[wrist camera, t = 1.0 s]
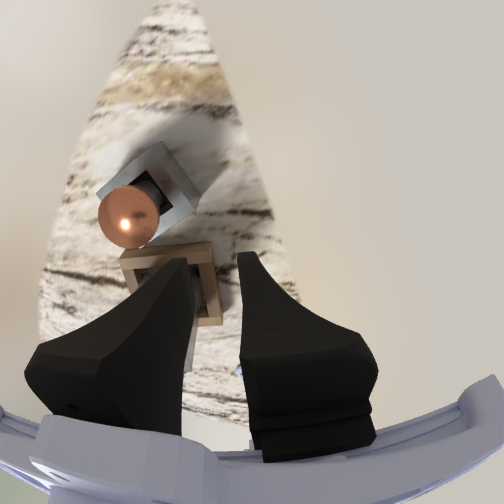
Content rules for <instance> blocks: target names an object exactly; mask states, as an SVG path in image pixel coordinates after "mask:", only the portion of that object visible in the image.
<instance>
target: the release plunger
mask: <svg viewBox="0 0 504 504" xmlns="http://www.w3.org/2000/svg"><path fill="white" fill-rule="evenodd" d="M161 204H162V196H161V193H160V191H159V189H158V188H157V187H156V186H155V185H153V184H151V183H149V182H139V183H137V184H135V185H134V186H133V185H124V186H120V187H117V188H115V189H114V190H112V191H111V192H110V193H108V194H107V195H106V196H105V197H104V198H103V200H102V202H101V204H100V206H99V211H98V219H99V224H100V227H101V229H102V231H103V233H104V234H105V236H106V237H107V238H108V239H109V240H110V241H111V242H113V243H114V244H116V245H118V246H120V247H123V248H128V249H135V248H139V247H142V246H144V245H146V244H147V243H148V242H149V241H150V240H151V239H152V238H153V236H154V234H155V233H156V231H157V229H158V226H159V221H160V215H159V209H160V207H161Z"/></svg>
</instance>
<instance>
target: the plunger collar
mask: <svg viewBox="0 0 504 504" xmlns="http://www.w3.org/2000/svg"><path fill="white" fill-rule="evenodd" d="M146 170H147V171H148V172H149V174H150V175H151V176H152V178H153V179H154V181H155V182H156V183H157V185H158V186H159V187H160V189H161V190H162V191H163V193H164V194H165V195H166V197H167V198H168V199H169V201H170V202H169V203H167V204H166V205H165V206H163V207H162V208H160V209H159V215H160V221H159V226H158V229H157V231H156V233H155V234H154V236H153V238H152V239H151V240H153V239H154V238H156V237H157V236H159V235H160V234H162V233H163V232H165V231H166V230H167V229H169V228H170V227H172V226H173V225H175V224H176V223H178V222H179V221H181V220H182V219H184V218H185V217H187V216H188V215H190V214H192V213H193V212H195V211H196V209H197V206H198V204H199V201H200V199H201V195H200V194H199V192H198V191H197V190H196V188H195V187H194V185H193V184H192V183H191V181H190V180H189V179H188V177H187V176H186V174H185V173H184V172H183V170H182V169H181V167H180V166H179V165H178V163H177V162H176V160H175V159H174V158H173V156H172V155H171V153H170V152H169V151H168V149H167V148H166V146H165V145H164V144H163V142H160V143H158V144H156V145H154V146H152V147H150V148H148V149H147V150H146V151H144V152H143V153H142V154H141V155H139V156H138V157H137V158H136V159H134V160H133V161H132V162H131V163H130V164H128V165H127V166H126V167H125V168H124V169H122V170H121V171H120V172H119V173H118V174H117V175H115V176H114V177H113V178H112V179H111V180H110V181H109V182H108V183H106V184H105V185H104V186H103V187H102V188H101V189H100V190H99V191H98V192H97V193H96V195H97V196H98V197H99V199H100V200H101V201H102V200H103V198H104V197H105V196H106V195H107V194H108V193H110V192H111V191H112V190H114V189H115V188H117V187H120V186H124V185H130V184H129V183H131V182H132V181H133V180H134V179H136V178H137V177H138V176H139V175H141V174H142V173H143V172H144V171H146ZM151 240H150V241H151ZM150 241H149V242H150ZM149 242H148V243H149ZM142 247H143V246H142ZM140 248H141V247H139V249H140Z"/></svg>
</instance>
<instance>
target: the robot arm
mask: <svg viewBox="0 0 504 504" xmlns="http://www.w3.org/2000/svg"><path fill="white" fill-rule="evenodd" d="M237 263H238V271H239V279H240V287H241V295H242V303H243V313H242V334H241V345H240V355H239V359H240V364H241V366H240V367H237V368H236V369H235V373H236V374H237V375H238V376H240V377H241V378H242V379H243V381H244V386H245V392H246V397H247V403H248V408H249V428H250V432H251V435H252V440H249V445H250V446H249V447H250V449H245V450H243V451H231V452H230V451H228V452H212V451H211V450H209V449H208V448H207V447H205V446H204V445H203V444H201V443H198V442H196V441H193V440H190V439H187V438H184V437H182V435H181V434H182V432H181V411H182V387H183V373H184V366H185V360H186V355H187V350H188V346H189V341H190V336H191V331H192V327H193V322H194V314H195V300H196V298H195V293H194V289H193V285H192V281H191V276H190V272H189V267H188V263H187V258H186V257H184V258H173V259H171V260H169V261H168V262H167V263H166V264H165V265H164V266H163V267H162V268H160V269H159V270H158V271H157V272H156V273H155V274H154V275H153V276H152V277H151V278H150V279H149V280H148V281H147V282H145V283H144V284H143V285H142V286H141V287H140V288H139V289H137V290H136V291H135V292H134V293H133V294H132V295H130V296H129V297H128V298H127V299H125V300H124V301H123V302H121V303H120V304H119V305H117V306H116V307H114V308H113V309H112V310H110V311H109V312H107V313H105V314H104V315H102V316H100V317H99V318H97V319H95V320H94V321H92V322H90V323H89V324H87V325H85V326H83V327H81V328H79V329H77V330H75V331H72V332H70V333H68V334H66V335H63V336H61V337H58V338H55V339H53V340H50V341H47V342H44V343H41V344H39V345H38V347H37V349H36V351H35V352H34V354H33V356H32V358H31V359H30V361H29V363H28V365H27V367H26V369H25V371H24V375H25V379H26V381H27V383H28V385H29V387H30V388H31V389H32V391H33V392H34V393H35V394H36V396H37V397H38V398H39V399H40V400H41V401H42V402H43V403H44V404H45V405H46V407H48V409H49V410H50V411H51V412H52V413H53V415H44V417H43V419H42V422H41V424H38V423H35V422H33V421H30V420H27V419H24V418H22V417H19V416H16V415H14V414H11V413H9V412H6V411H4V409H3V408H2V407H1V405H0V468H1V469H3V470H4V471H6V472H8V473H9V474H11V475H13V476H15V477H17V478H18V479H20V480H22V481H24V482H25V483H27V484H29V485H31V486H33V487H35V488H37V489H39V490H41V491H43V492H45V493H47V494H49V495H50V496H49V501H48V504H403V503H405V502H408V501H410V500H412V499H415V498H417V497H419V496H421V495H424V494H426V493H428V492H430V491H432V490H434V489H436V488H439V487H440V486H442V485H444V484H446V483H448V482H450V481H452V480H454V479H456V478H458V477H459V476H461V475H463V474H464V473H466V472H468V471H470V470H471V469H473V468H475V467H476V466H478V465H480V464H481V463H483V462H484V461H486V460H487V459H488V458H490V457H491V456H492V455H493V454H495V453H496V452H497V451H499V450H500V449H501V448H502V447H503V446H504V390H503V388H502V386H501V385H500V383H499V381H498V380H497V378H496V376H495V375H490V376H488V377H486V378H484V379H482V380H480V381H478V382H476V383H474V384H472V385H471V386H469V387H468V388H467V389H466V390H465V391H464V392H463V393H462V394H461V396H460V397H459V399H458V401H457V402H455V403H452V404H450V405H448V406H445V407H443V408H441V409H438V410H435V411H433V412H430V413H428V414H425V415H423V416H420V417H417V418H414V419H411V420H408V421H405V422H403V423H399V424H396V425H393V426H390V427H386V428H383V429H379V430H375V429H374V425H373V422H372V419H371V416H370V414H371V412H372V407H371V404H370V402H369V397H370V394H371V392H372V390H373V387H374V385H375V382H376V380H377V376H378V367H377V363H376V361H375V359H374V357H373V354H372V352H371V351H370V349H369V347H368V346H367V344H366V343H365V341H364V340H363V338H362V337H361V335H360V334H359V333H357V332H354V331H352V330H349V329H346V328H344V327H341V326H339V325H336V324H334V323H332V322H330V321H328V320H326V319H324V318H322V317H320V316H318V315H316V314H315V313H313V312H311V311H310V310H308V309H307V308H305V307H304V306H302V305H301V304H299V303H298V302H297V301H295V300H294V299H293V298H292V297H291V296H289V295H288V294H287V293H286V292H285V291H284V290H283V289H282V288H281V287H280V286H279V285H278V284H277V283H276V282H275V280H274V279H273V278H272V277H271V276H270V274H269V273H268V272H267V271H266V269H265V268H264V266H263V265H262V263H261V262H260V260H259V258H258V256H257V254H256V253H255V252H254V251H251V252H240V253H238V256H237Z"/></svg>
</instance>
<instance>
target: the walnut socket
mask: <svg viewBox="0 0 504 504" xmlns="http://www.w3.org/2000/svg"><path fill="white" fill-rule="evenodd" d="M184 257H186V258H187V263H188V264H198V267H199V272H200V277H201V282H202V286H203V291H204V296H205V300H206V305H207V307H201V308H200V314H199V321H198V327H201V326H219V325H223V310H222V305H221V299H220V294H219V288H218V283H217V277H216V271H215V265H214V259H213V253H212V247H211V242H201V243H190V244H180V245H170V246H160V247H150V248H140V249H131V250H124V252H123V253H122V255H121V256H120V258H119V262H120V265H121V268H122V271H123V274H124V277H125V280H126V283H127V286H128V288H129V291H130V294H131V295H132V294H133V293H134V292H135V291H136V289H137V287H138V285H139V283H140V281H141V279H142V277H143V274H142V271H141V268H152V267H163V266H164V265H165V264H166V263H167V262H168V261H169V260H171V259H173V258H184Z"/></svg>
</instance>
